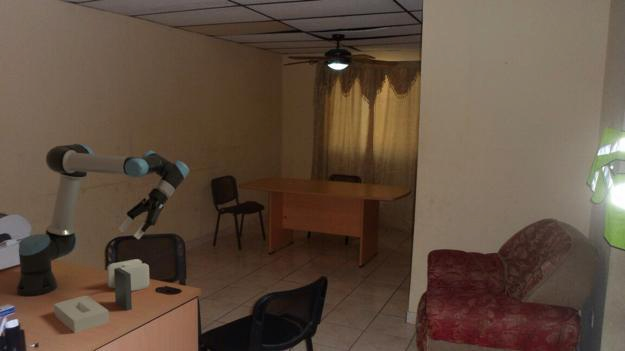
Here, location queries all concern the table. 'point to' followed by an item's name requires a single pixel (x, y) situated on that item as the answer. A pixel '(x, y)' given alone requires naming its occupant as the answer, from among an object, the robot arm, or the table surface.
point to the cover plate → (123, 288)
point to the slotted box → (81, 313)
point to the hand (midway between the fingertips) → (127, 234)
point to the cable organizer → (135, 269)
